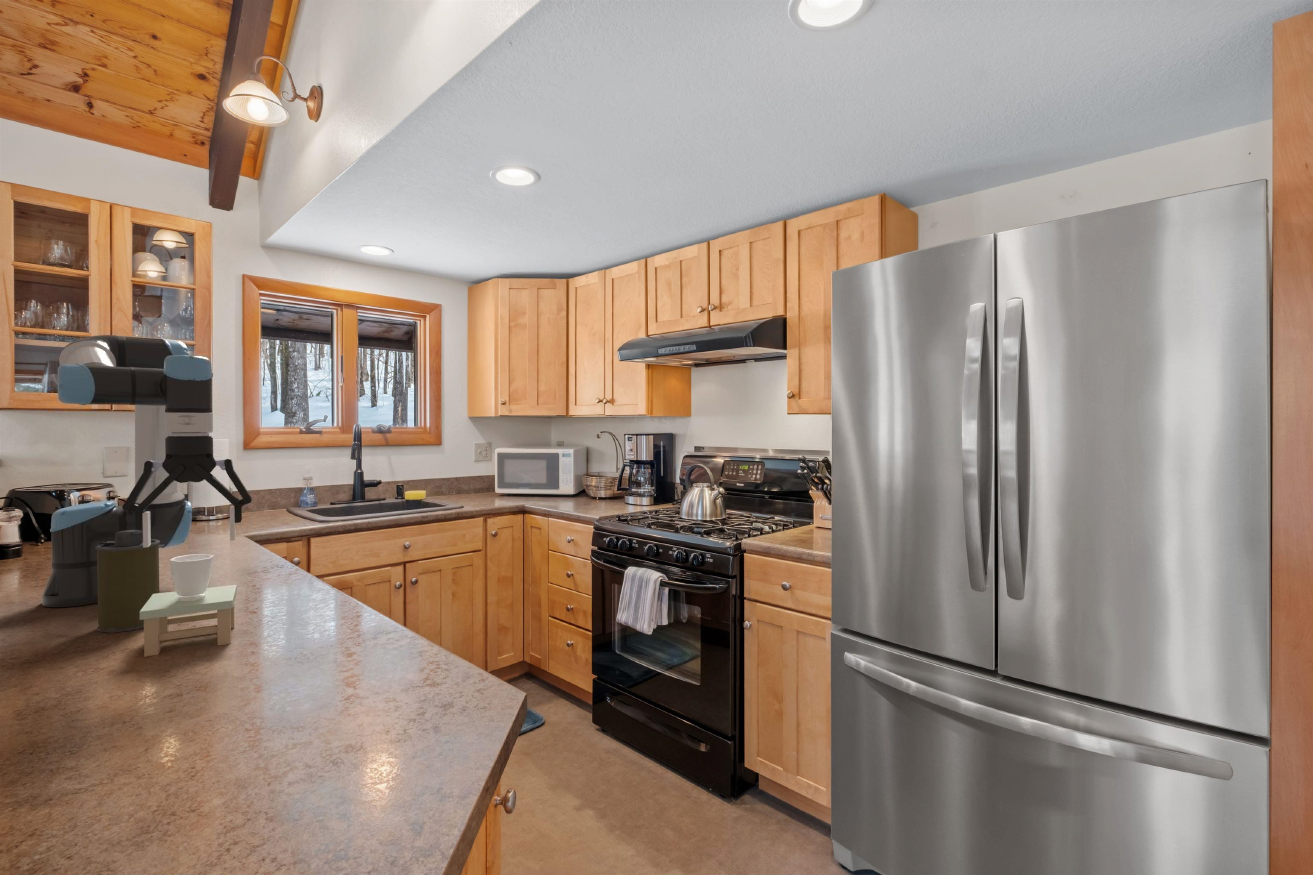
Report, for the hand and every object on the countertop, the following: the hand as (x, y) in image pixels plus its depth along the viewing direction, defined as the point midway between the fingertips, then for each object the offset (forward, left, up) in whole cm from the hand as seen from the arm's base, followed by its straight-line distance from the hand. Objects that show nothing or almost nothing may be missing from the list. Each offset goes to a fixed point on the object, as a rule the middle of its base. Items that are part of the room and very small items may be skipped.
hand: (191, 542), depth 122 cm
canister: (-19, -13, -19) cm, 30 cm away
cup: (0, 0, -11) cm, 11 cm away
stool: (0, 0, -19) cm, 19 cm away
